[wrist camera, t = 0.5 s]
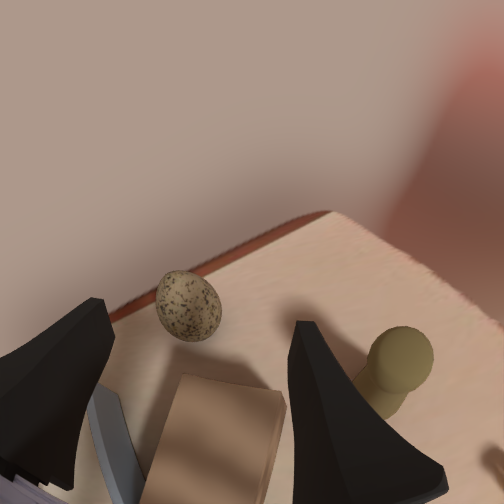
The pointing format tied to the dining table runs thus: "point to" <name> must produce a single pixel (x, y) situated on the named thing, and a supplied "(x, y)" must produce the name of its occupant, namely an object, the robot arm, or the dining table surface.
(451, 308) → the dining table surface
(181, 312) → the decorative egg
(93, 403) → the cabinet door
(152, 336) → the dining table surface
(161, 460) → the cabinet
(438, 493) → the robot arm
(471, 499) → the dining table surface
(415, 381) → the cork
